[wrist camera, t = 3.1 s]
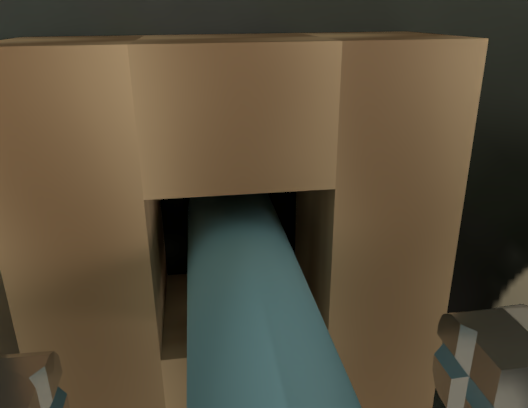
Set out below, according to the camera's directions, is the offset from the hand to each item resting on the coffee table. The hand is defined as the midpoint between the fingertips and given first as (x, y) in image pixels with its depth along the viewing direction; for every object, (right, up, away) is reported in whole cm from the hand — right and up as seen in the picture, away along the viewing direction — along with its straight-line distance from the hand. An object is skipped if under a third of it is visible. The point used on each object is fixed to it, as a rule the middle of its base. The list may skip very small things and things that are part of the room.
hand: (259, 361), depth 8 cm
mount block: (-1, +2, +6) cm, 7 cm away
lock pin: (-1, +2, +6) cm, 7 cm away
